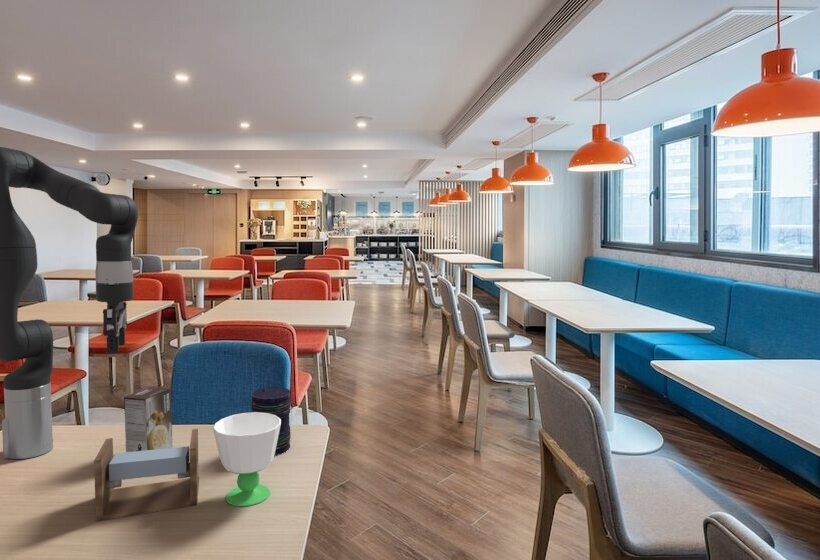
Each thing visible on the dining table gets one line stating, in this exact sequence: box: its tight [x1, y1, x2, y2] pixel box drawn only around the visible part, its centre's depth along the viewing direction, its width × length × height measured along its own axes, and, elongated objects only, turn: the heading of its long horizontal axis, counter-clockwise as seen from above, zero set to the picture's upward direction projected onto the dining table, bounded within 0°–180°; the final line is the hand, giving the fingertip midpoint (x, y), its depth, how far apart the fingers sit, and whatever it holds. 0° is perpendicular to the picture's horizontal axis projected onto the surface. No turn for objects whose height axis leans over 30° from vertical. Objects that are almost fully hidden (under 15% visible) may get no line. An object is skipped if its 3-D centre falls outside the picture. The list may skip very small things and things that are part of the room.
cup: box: [212, 412, 281, 508], centre depth 105 cm, size 14×14×16 cm
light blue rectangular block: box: [109, 445, 190, 481], centre depth 103 cm, size 14×5×4 cm, turn 107°
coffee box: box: [123, 386, 173, 452], centre depth 124 cm, size 9×6×16 cm
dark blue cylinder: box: [250, 386, 292, 457], centre depth 129 cm, size 10×10×15 cm
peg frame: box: [93, 428, 200, 522], centre depth 103 cm, size 18×11×12 cm, turn 111°
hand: (116, 349), depth 116 cm, fingers open, 8 cm apart
